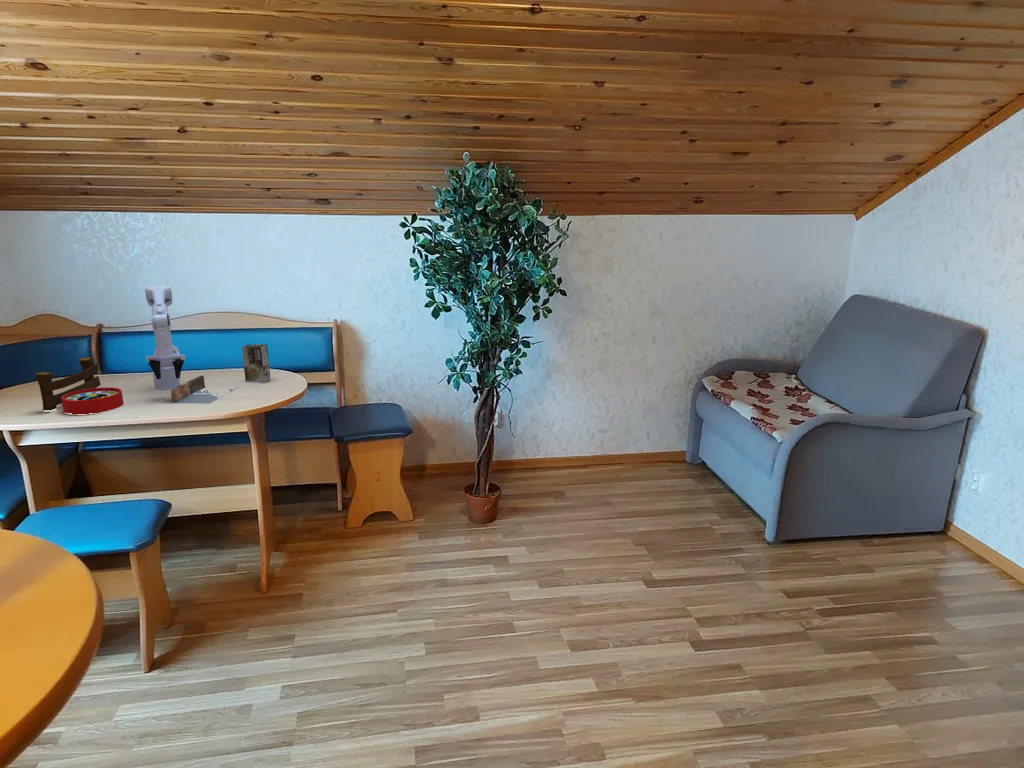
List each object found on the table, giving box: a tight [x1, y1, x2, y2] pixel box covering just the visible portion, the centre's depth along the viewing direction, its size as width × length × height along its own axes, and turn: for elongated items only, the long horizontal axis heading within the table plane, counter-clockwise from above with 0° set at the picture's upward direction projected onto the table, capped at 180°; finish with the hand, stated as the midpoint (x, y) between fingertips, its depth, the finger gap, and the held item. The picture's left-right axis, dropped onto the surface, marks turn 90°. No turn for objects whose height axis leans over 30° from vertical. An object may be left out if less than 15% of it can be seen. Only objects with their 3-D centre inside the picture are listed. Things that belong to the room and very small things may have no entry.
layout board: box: [160, 386, 240, 405], centre depth 279 cm, size 20×26×1 cm
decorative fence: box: [34, 356, 102, 411], centre depth 270 cm, size 34×6×15 cm, turn 0°
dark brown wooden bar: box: [186, 375, 206, 394], centre depth 285 cm, size 2×12×5 cm, turn 177°
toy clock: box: [61, 386, 124, 414], centre depth 262 cm, size 20×6×20 cm
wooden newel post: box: [170, 381, 190, 402], centre depth 273 cm, size 12×2×5 cm, turn 177°
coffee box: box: [241, 343, 271, 383], centre depth 301 cm, size 9×6×16 cm
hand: (168, 378), depth 270 cm, fingers open, 7 cm apart
